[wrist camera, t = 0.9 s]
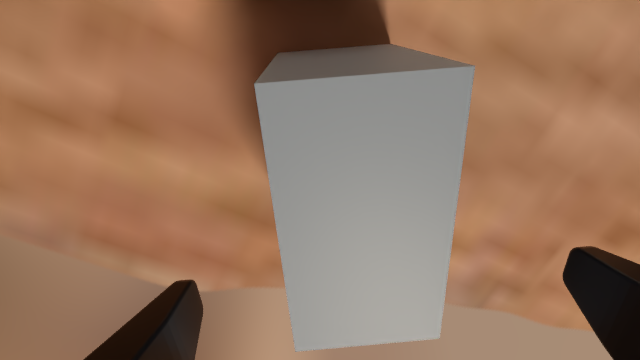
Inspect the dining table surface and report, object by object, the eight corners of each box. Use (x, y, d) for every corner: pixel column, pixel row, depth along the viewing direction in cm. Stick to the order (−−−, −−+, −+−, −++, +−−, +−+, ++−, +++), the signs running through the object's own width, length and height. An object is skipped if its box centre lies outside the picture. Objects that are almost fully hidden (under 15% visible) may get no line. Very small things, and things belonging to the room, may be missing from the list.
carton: (390, 43, 15) (474, 65, 7) (386, 215, 19) (439, 338, 11) (275, 52, 15) (248, 84, 7) (296, 223, 18) (291, 352, 11)
